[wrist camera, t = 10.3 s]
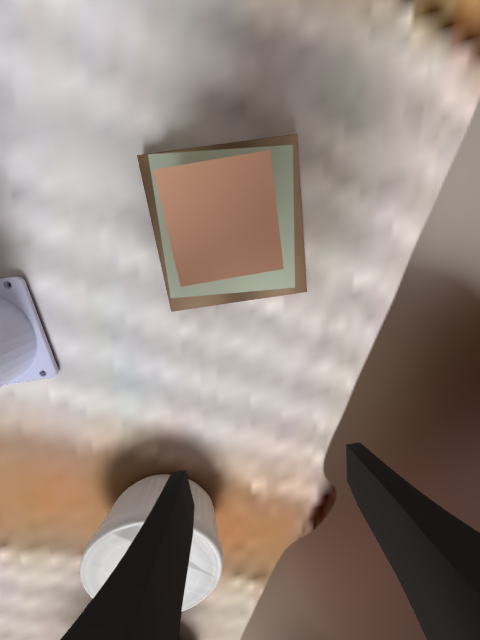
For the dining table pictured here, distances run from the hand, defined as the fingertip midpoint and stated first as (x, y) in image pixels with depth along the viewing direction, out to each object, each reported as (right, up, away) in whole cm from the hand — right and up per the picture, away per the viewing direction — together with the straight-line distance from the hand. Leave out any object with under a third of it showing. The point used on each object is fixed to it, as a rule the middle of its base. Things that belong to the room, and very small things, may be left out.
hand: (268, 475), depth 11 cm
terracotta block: (-2, +12, +4) cm, 13 cm away
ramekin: (-9, -12, +14) cm, 20 cm away
